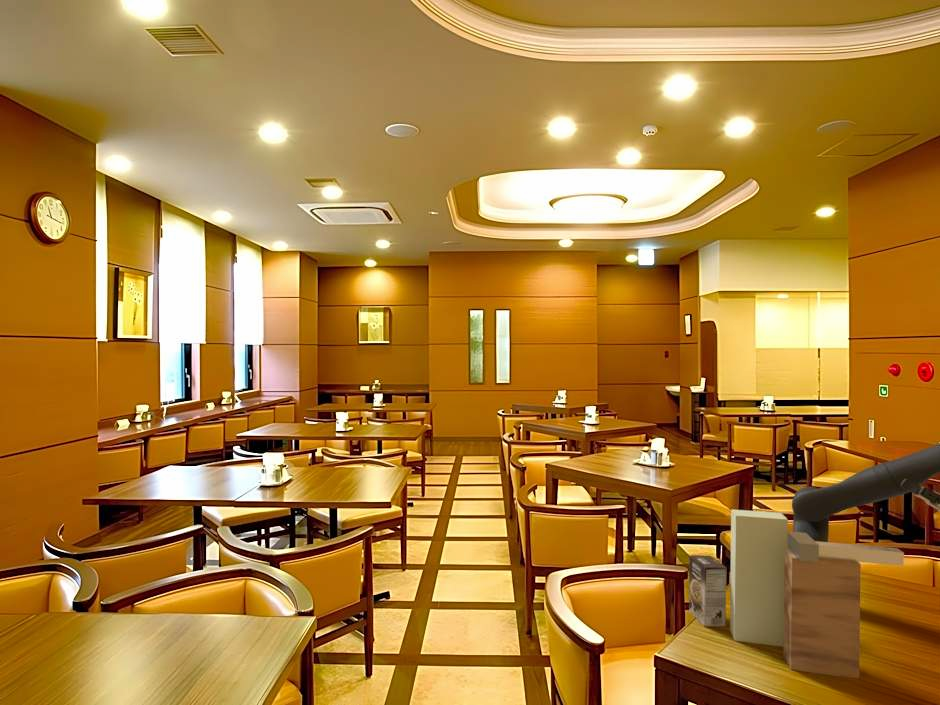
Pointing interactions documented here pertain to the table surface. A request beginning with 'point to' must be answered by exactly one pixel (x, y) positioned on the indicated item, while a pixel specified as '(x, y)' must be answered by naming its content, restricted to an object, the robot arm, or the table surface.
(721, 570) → the coffee box
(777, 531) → the beige tall block
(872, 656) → the table surface
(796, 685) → the table surface
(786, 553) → the wood grain post
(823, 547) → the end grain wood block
